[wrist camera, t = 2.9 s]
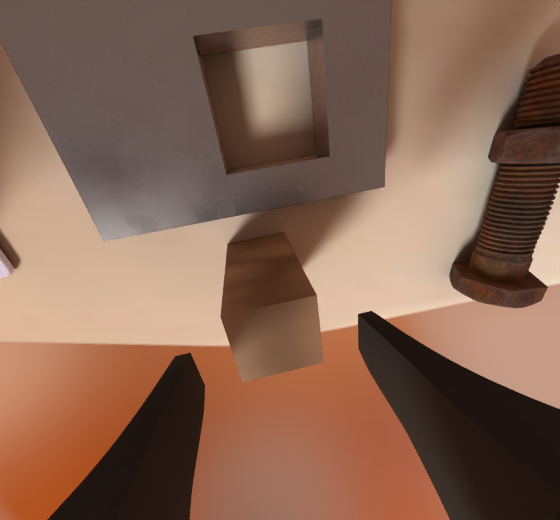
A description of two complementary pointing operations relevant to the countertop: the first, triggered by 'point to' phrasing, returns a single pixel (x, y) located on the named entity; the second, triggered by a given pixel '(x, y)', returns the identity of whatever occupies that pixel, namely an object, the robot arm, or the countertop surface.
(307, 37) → the collar plate
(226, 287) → the pin
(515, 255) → the bolt
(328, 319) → the countertop surface
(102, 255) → the countertop surface
